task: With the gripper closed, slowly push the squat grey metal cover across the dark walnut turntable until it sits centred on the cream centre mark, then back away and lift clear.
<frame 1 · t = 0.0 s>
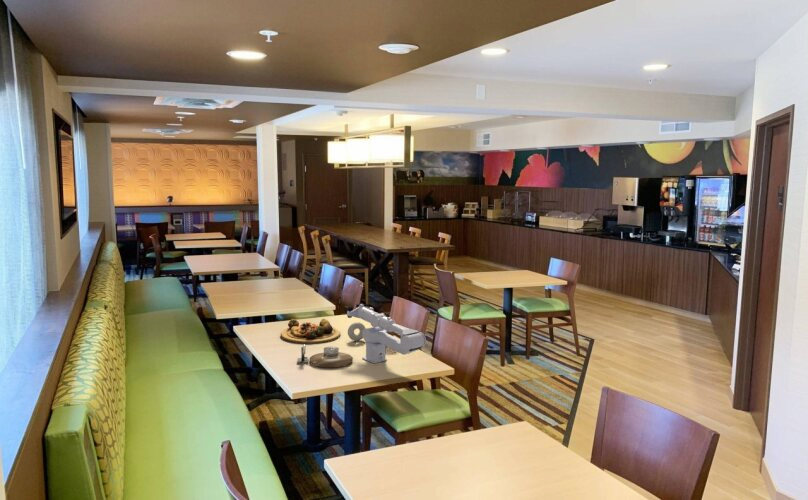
hand: (350, 307, 290), 22 cm above the table, tool horizontal, fingers open, 7 cm apart
cover: (331, 354, 279), point 2 cm above the table, touching turntable
turntable: (331, 359, 273), point 1 cm above the table, hinge at 0.0°, touching cover
dial gauge: (302, 362, 272), on the table
donut: (356, 341, 309), on the table
disposable coffee cup: (386, 345, 303), on the table
wooden plate with food: (310, 336, 317), on the table
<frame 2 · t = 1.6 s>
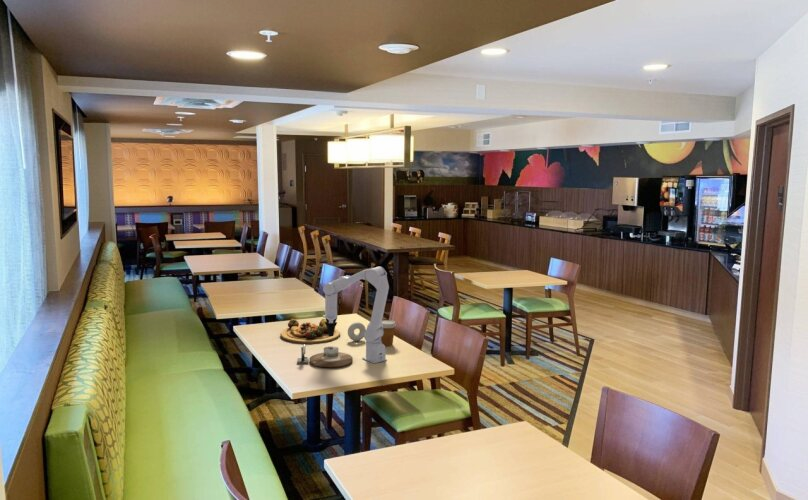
hand: (331, 334, 286), 9 cm above the table, tool pointing down, fingers open, 7 cm apart
nothing on the table moved.
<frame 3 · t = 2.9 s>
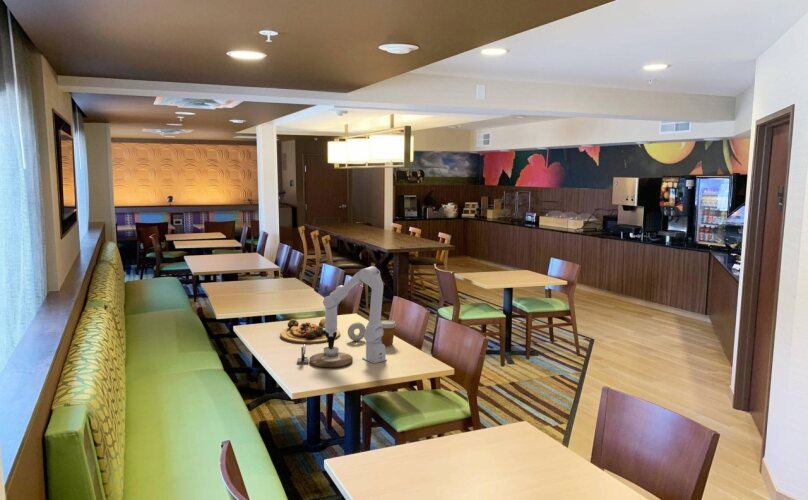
hand: (331, 346, 287), 3 cm above the table, tool pointing down, fingers closed
nothing on the table moved.
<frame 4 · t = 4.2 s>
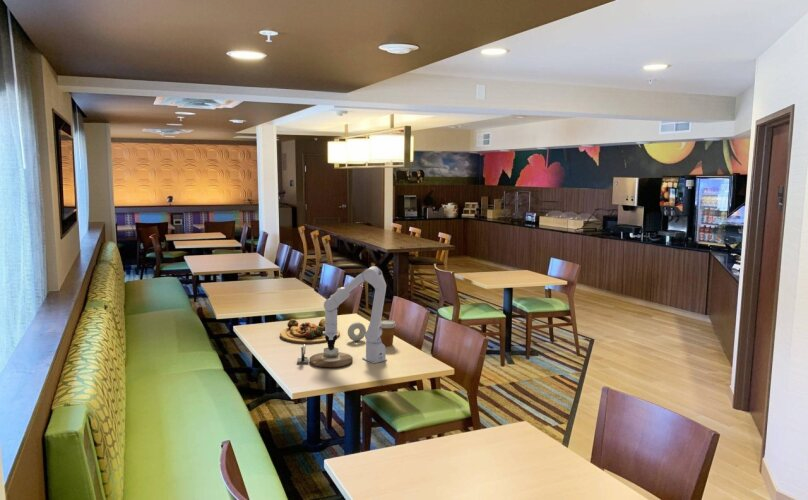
hand: (331, 350, 282), 3 cm above the table, tool pointing down, fingers closed
cover: (331, 355, 278), point 2 cm above the table, touching gripper
turntable: (331, 359, 273), point 1 cm above the table, hinge at 0.0°
everything else where it was.
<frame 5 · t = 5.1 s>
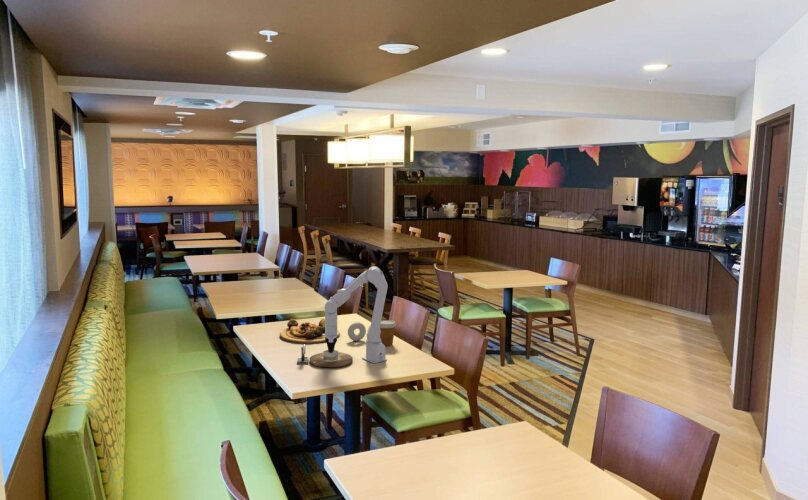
hand: (331, 353, 278), 3 cm above the table, tool pointing down, fingers closed
cover: (330, 358, 273), point 2 cm above the table, touching gripper
everything else where it was.
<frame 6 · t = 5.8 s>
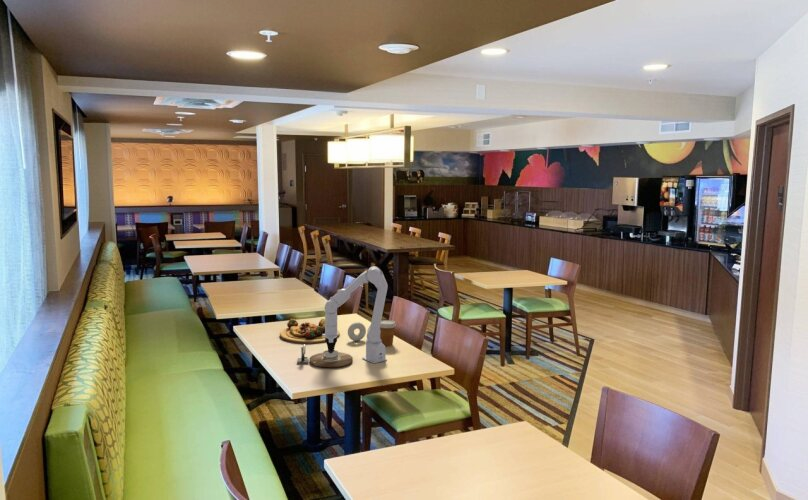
hand: (331, 353, 278), 3 cm above the table, tool pointing down, fingers closed
cover: (330, 358, 273), point 2 cm above the table, touching gripper, turntable
turntable: (331, 359, 273), point 1 cm above the table, hinge at 0.0°, touching cover
everything else where it was.
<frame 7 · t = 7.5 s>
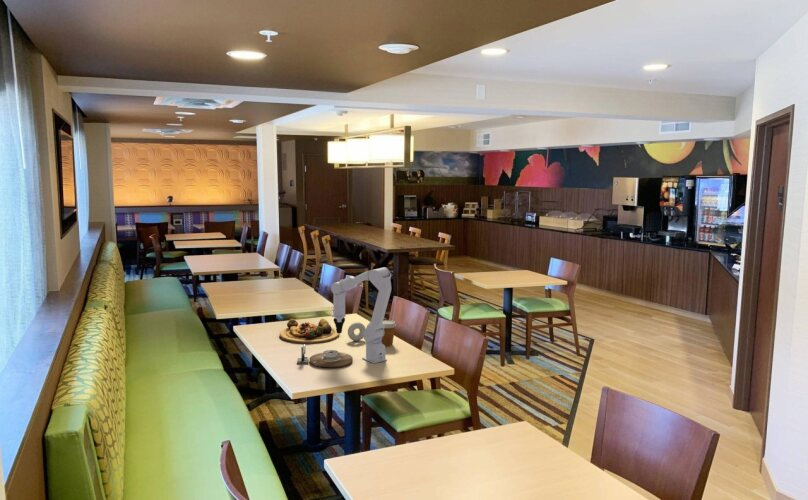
hand: (339, 333, 288), 9 cm above the table, tool pointing down, fingers closed
cover: (330, 358, 273), point 2 cm above the table, touching turntable
everything else where it was.
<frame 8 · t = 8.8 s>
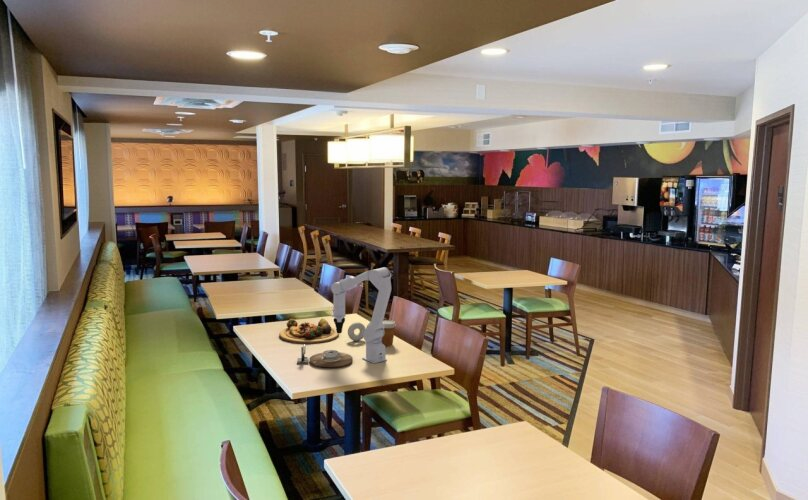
hand: (339, 332, 288), 9 cm above the table, tool pointing down, fingers closed
nothing on the table moved.
at the end: cover 0.3 cm from the turntable (horizontally); cover point 1.7 cm above the table; cover tilted 0° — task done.
